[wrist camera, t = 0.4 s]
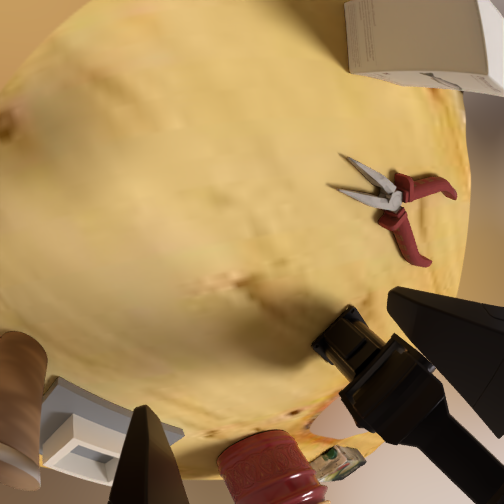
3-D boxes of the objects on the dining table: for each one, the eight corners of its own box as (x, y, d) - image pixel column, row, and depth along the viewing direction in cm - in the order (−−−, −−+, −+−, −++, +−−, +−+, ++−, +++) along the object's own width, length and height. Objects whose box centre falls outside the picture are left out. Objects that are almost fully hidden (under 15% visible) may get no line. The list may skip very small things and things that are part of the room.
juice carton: (299, 467, 51) (313, 486, 46) (333, 443, 51) (348, 461, 46) (329, 467, 62) (341, 481, 57) (356, 446, 63) (369, 461, 58)
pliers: (354, 111, 22) (375, 113, 20) (447, 186, 31) (462, 192, 29) (309, 232, 25) (327, 243, 23) (416, 263, 35) (431, 272, 32)
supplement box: (347, 75, 20) (488, 75, 9) (341, 1, 16) (468, -28, 6) (401, 88, 22) (518, 102, 12) (396, 23, 19) (507, 18, 8)
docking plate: (182, 429, 29) (191, 456, 25) (115, 473, 28) (119, 496, 25) (58, 376, 20) (56, 410, 16) (14, 435, 20) (12, 461, 16)
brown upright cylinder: (57, 353, 19) (50, 481, 9) (36, 381, 19) (30, 495, 9) (9, 320, 16) (-27, 446, 6) (-8, 353, 16) (-33, 466, 6)
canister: (263, 421, 34) (329, 523, 19) (303, 434, 41) (358, 509, 27) (197, 464, 34) (242, 560, 19) (246, 471, 41) (289, 545, 26)
